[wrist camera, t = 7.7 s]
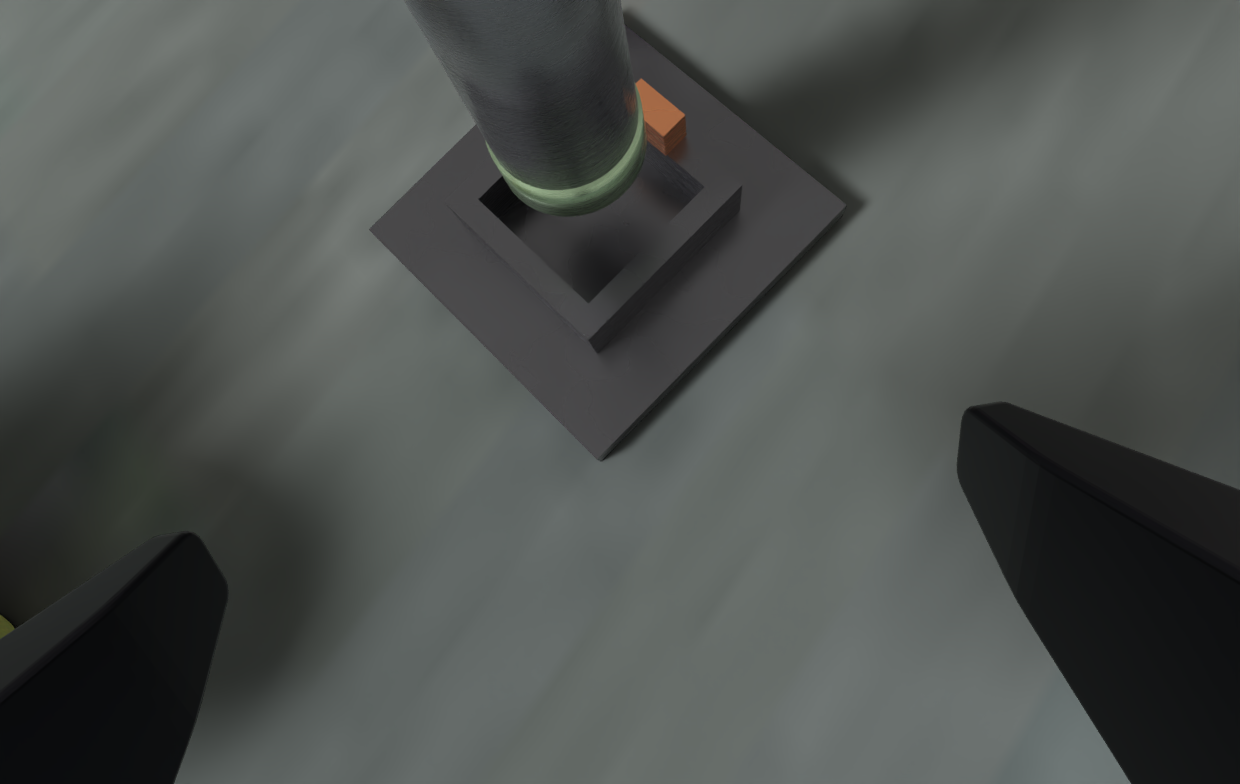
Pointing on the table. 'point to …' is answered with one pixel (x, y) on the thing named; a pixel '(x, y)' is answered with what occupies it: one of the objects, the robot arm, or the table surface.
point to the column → (545, 94)
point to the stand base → (615, 255)
